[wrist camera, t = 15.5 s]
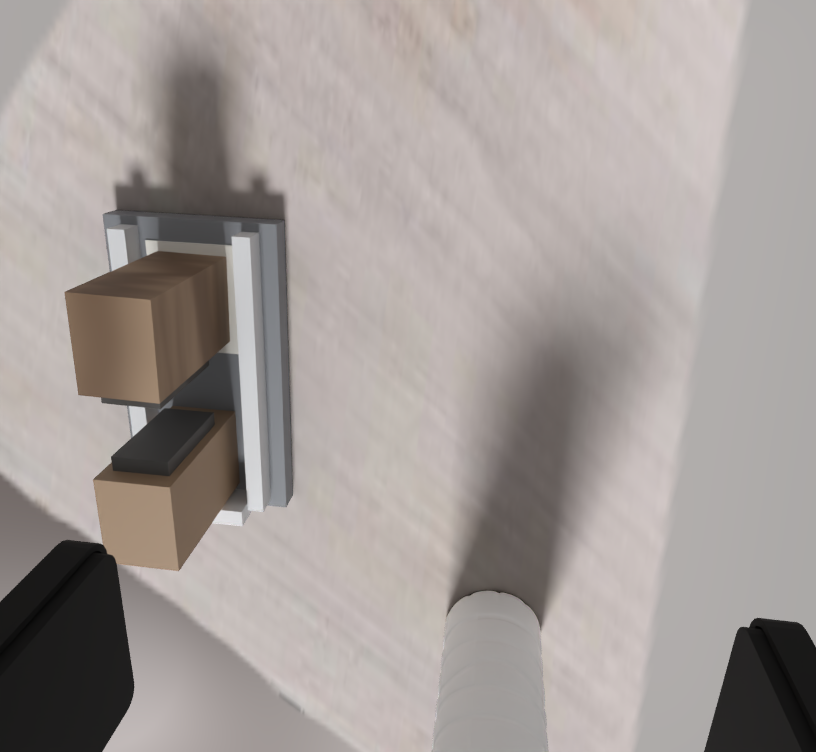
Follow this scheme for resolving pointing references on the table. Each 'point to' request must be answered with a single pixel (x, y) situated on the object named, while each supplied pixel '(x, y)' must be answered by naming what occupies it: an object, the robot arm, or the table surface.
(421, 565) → the table surface
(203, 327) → the walnut finger
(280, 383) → the frame
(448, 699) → the water bottle
